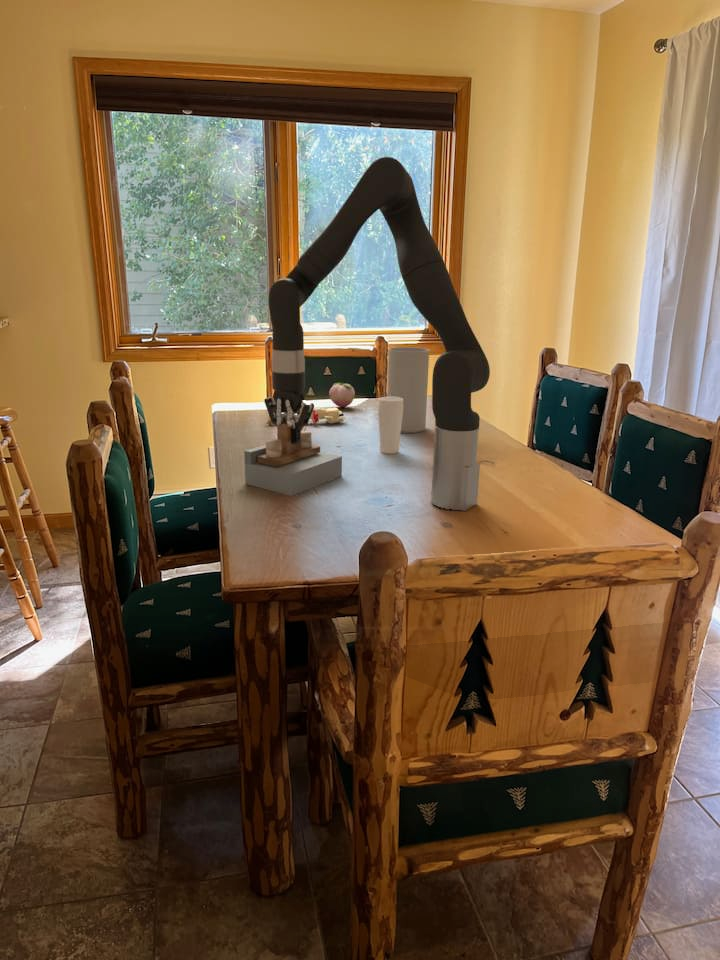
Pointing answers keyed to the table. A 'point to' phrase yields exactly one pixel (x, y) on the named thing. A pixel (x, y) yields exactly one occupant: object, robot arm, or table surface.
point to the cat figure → (323, 415)
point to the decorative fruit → (342, 394)
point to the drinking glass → (390, 423)
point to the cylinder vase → (409, 384)
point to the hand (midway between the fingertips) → (289, 442)
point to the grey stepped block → (291, 472)
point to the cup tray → (287, 447)
